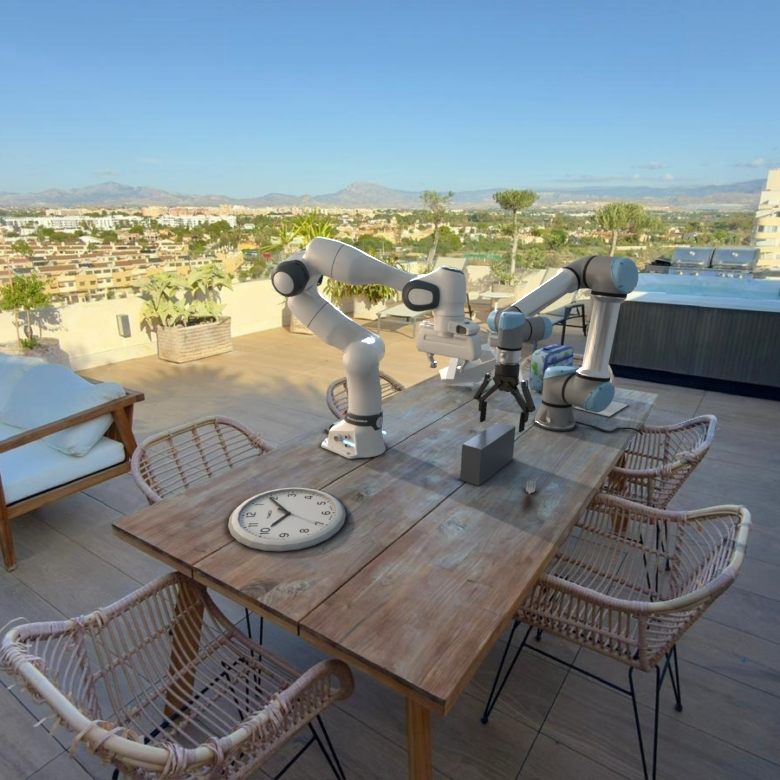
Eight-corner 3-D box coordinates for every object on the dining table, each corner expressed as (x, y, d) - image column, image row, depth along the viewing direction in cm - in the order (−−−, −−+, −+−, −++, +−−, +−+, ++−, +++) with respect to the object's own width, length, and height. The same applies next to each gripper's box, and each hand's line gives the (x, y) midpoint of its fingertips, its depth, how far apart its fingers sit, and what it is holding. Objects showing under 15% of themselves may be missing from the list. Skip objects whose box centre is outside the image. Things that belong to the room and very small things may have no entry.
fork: (520, 510, 142) (521, 503, 141) (526, 484, 156) (527, 478, 155) (530, 512, 141) (531, 505, 140) (535, 486, 155) (536, 480, 154)
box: (495, 454, 177) (497, 421, 174) (512, 459, 173) (515, 426, 170) (459, 479, 159) (462, 444, 155) (478, 485, 155) (481, 449, 152)
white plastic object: (461, 429, 252) (437, 405, 227) (444, 352, 274) (420, 323, 250) (535, 404, 240) (518, 377, 215) (510, 326, 262) (492, 293, 237)
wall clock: (346, 543, 123) (215, 547, 120) (346, 549, 123) (215, 553, 121) (345, 483, 151) (239, 485, 149) (345, 488, 152) (240, 490, 149)
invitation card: (608, 416, 214) (573, 407, 224) (608, 416, 214) (573, 408, 224) (628, 404, 229) (594, 396, 238) (628, 405, 229) (594, 397, 238)
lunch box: (545, 397, 238) (550, 352, 231) (524, 391, 245) (529, 348, 239) (572, 386, 255) (578, 344, 249) (552, 381, 262) (557, 340, 256)
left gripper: (413, 321, 155) (411, 366, 159) (474, 330, 143) (471, 378, 147) (424, 318, 160) (423, 362, 164) (485, 327, 148) (481, 374, 152)
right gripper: (466, 357, 167) (461, 420, 173) (541, 371, 153) (533, 439, 159) (477, 353, 173) (472, 414, 179) (551, 366, 158) (543, 432, 165)
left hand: (446, 370), depth 155 cm, fingers open, 8 cm apart
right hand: (501, 426), depth 169 cm, fingers open, 13 cm apart
